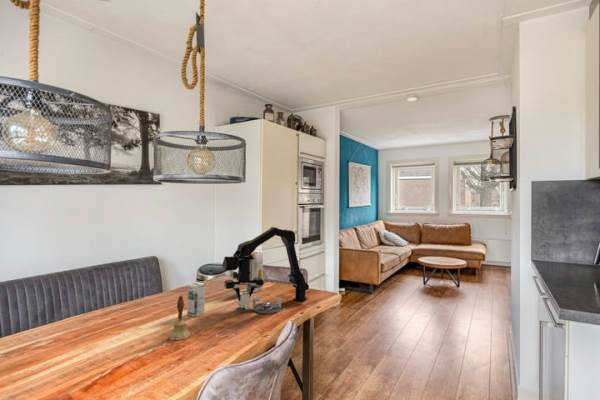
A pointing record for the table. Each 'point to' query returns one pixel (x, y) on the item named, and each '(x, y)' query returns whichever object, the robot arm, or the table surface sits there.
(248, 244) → the robot arm
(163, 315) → the table surface
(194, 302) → the syrup box
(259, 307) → the lugged metal disc
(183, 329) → the hand bell
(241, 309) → the rubber pad
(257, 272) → the juice carton
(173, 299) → the table surface
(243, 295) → the cream block with tab
